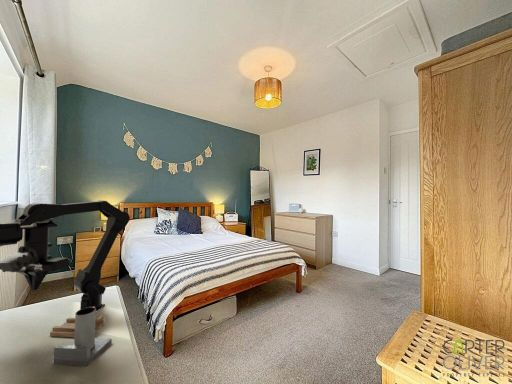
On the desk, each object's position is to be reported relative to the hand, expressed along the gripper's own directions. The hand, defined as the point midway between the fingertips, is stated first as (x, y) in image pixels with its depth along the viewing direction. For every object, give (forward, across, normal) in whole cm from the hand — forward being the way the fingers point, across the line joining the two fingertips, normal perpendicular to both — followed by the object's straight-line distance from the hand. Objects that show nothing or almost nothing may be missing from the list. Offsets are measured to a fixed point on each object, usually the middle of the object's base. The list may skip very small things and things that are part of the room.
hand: (34, 290), depth 70 cm
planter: (+12, +24, -8) cm, 28 cm away
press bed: (+13, +24, -8) cm, 29 cm away
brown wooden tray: (+13, +14, +2) cm, 19 cm away
